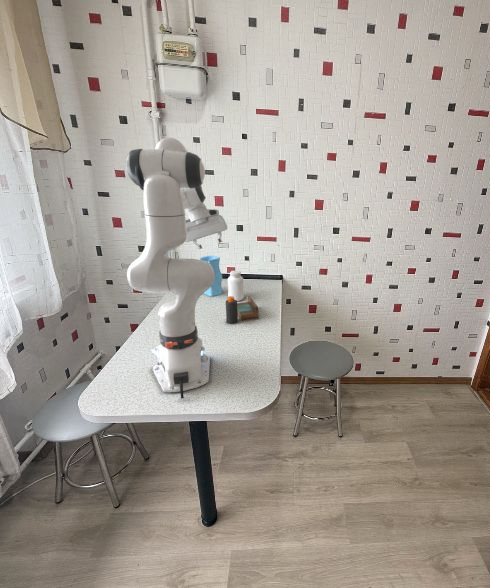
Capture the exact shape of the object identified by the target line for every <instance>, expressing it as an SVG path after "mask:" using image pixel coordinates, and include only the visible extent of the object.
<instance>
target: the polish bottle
mask: <svg viewBox="0 0 490 588" xmlns="http://www.w3.org/2000/svg"><path fill="white" fill-rule="evenodd" d="M237 303H238V301H237V300H234V297H233V296H230V297H227V300H226V301H225V317H226V318H225V319H226V323H227V324H229V325H235V324H237V323H238V321H239V316H238V312H237Z"/></svg>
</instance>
